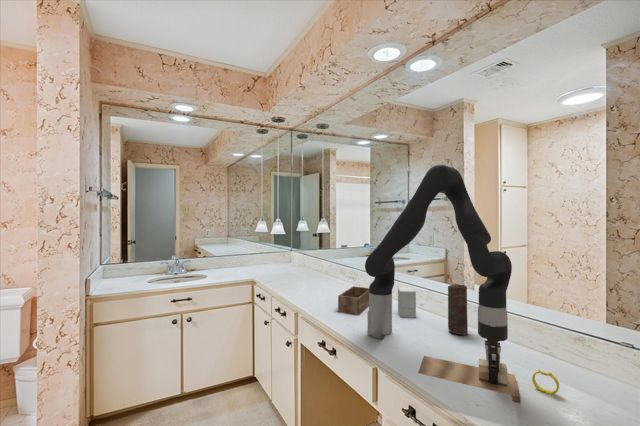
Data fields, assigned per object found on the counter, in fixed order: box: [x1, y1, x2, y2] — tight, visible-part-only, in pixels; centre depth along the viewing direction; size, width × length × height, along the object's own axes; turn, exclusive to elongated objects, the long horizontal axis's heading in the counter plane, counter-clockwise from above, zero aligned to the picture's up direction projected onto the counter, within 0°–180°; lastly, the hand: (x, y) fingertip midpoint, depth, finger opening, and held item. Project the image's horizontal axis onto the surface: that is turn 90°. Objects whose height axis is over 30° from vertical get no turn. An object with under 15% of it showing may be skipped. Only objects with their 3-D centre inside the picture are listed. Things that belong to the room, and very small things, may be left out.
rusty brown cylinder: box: [447, 283, 469, 336], centre depth 125 cm, size 8×7×20 cm
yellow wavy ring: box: [531, 368, 560, 395], centre depth 85 cm, size 6×3×6 cm, turn 42°
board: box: [418, 355, 521, 403], centre depth 91 cm, size 26×12×2 cm, turn 63°
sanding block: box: [478, 358, 508, 386], centre depth 88 cm, size 7×4×4 cm, turn 63°
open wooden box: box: [337, 285, 369, 316], centre depth 158 cm, size 11×21×8 cm, turn 153°
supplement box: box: [397, 286, 417, 319], centre depth 146 cm, size 7×7×13 cm
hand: (492, 378), depth 88 cm, fingers closed on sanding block, 4 cm apart
